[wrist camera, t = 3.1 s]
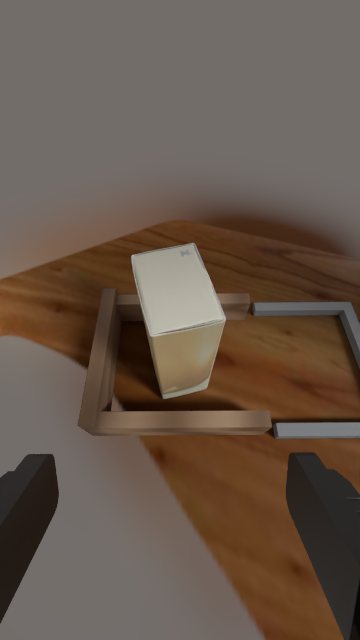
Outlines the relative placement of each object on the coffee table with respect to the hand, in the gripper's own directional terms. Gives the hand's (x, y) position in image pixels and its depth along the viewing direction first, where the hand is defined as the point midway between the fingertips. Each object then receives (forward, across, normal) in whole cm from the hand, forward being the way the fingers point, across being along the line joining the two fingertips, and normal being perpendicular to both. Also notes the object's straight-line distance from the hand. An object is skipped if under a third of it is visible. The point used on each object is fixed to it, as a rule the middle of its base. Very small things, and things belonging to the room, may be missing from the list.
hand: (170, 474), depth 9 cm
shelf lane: (+17, 0, +3) cm, 17 cm away
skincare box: (+17, 0, +3) cm, 17 cm away
